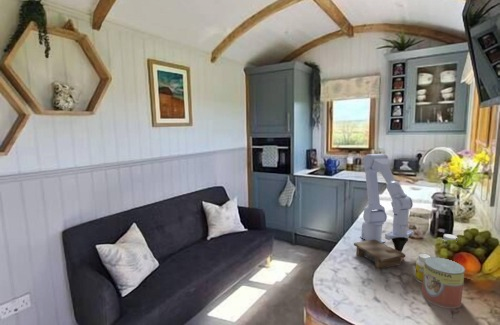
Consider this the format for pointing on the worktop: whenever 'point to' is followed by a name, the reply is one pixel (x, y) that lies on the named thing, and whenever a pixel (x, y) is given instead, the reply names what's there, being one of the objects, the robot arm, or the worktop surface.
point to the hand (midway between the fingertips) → (398, 252)
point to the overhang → (379, 253)
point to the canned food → (443, 282)
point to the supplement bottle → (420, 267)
